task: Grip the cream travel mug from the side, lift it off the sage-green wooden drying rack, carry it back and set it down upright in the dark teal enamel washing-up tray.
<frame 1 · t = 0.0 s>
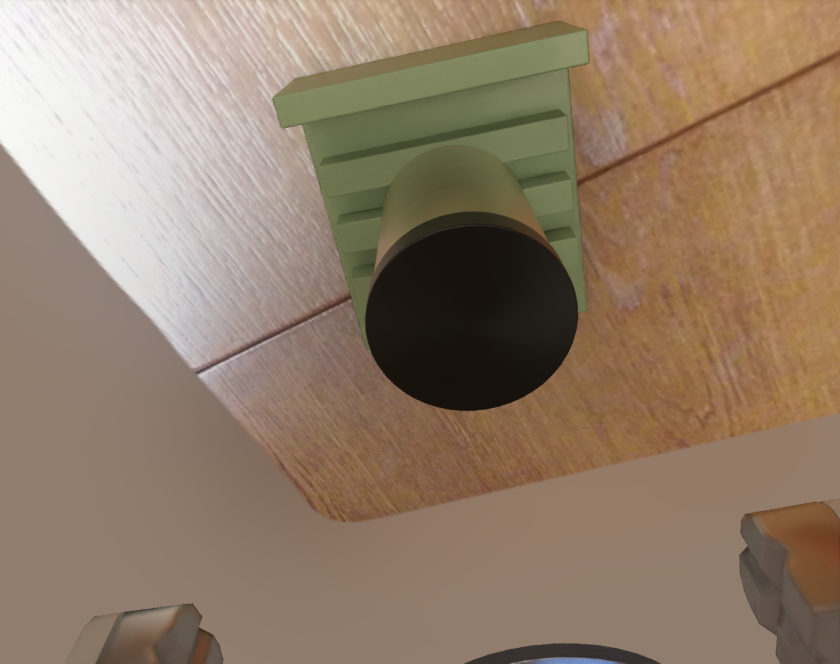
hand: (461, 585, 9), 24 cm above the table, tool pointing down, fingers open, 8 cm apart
travel mug: (454, 218, 29), point 2 cm above the table, touching drying rack
drying rack: (451, 201, 31), on the table
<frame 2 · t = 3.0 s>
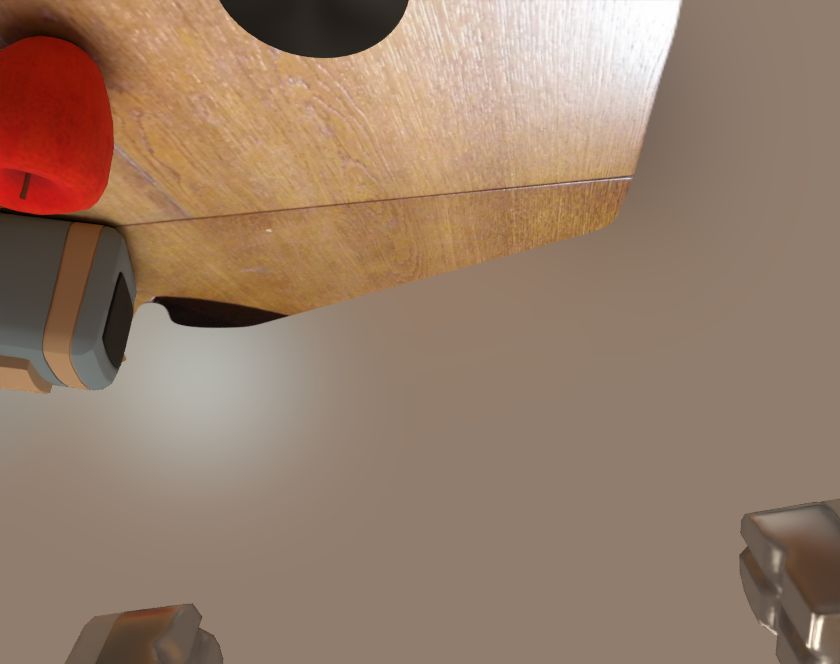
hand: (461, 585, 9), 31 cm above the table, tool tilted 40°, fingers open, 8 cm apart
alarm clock: (52, 243, 68), on the table
apple: (55, 51, 41), on the table
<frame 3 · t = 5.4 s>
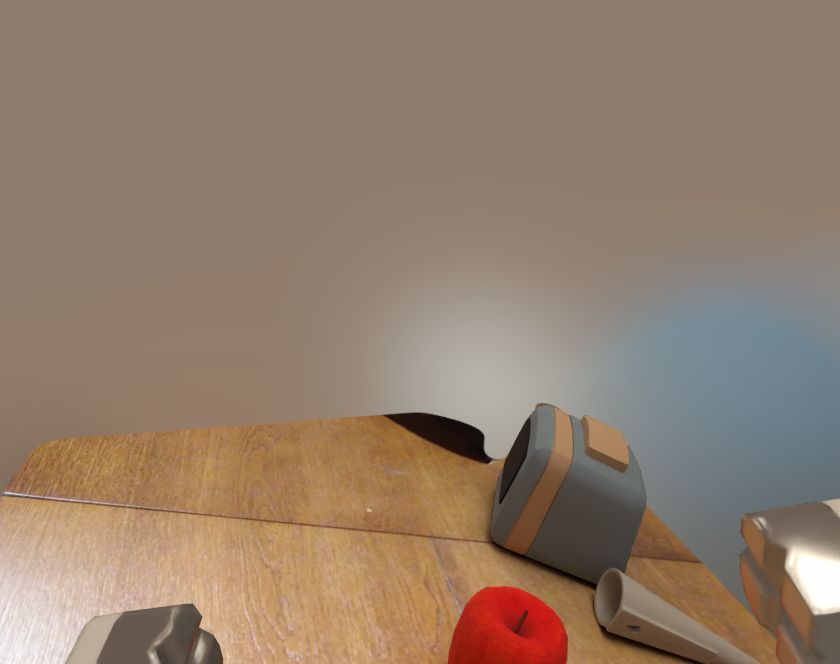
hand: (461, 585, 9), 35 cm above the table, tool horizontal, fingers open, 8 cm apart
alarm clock: (549, 536, 80), on the table
long tapered cone: (678, 643, 68), on the table
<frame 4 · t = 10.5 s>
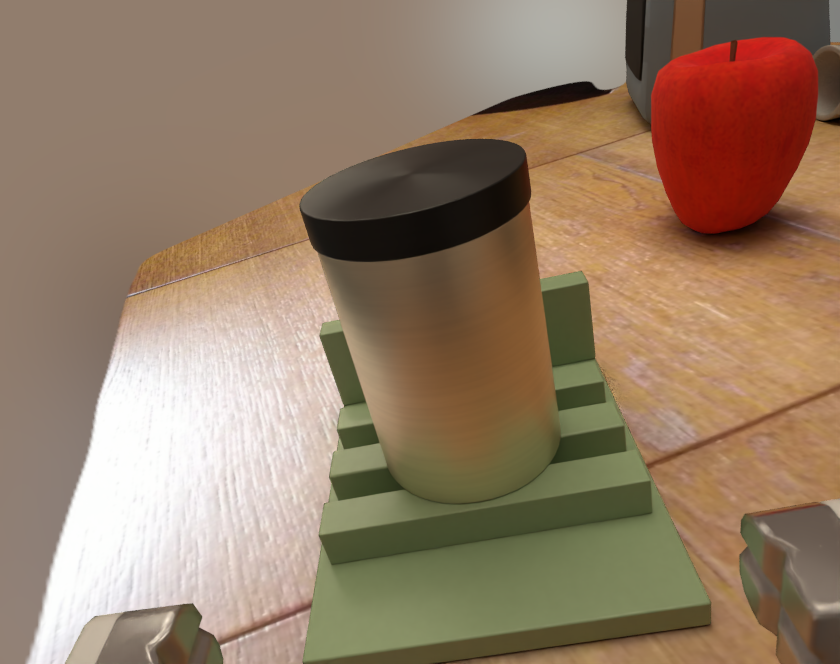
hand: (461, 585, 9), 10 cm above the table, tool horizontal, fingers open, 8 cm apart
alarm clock: (716, 102, 65), on the table
travel mug: (471, 438, 23), point 2 cm above the table, touching drying rack
drying rack: (482, 486, 25), on the table
apple: (726, 226, 40), on the table
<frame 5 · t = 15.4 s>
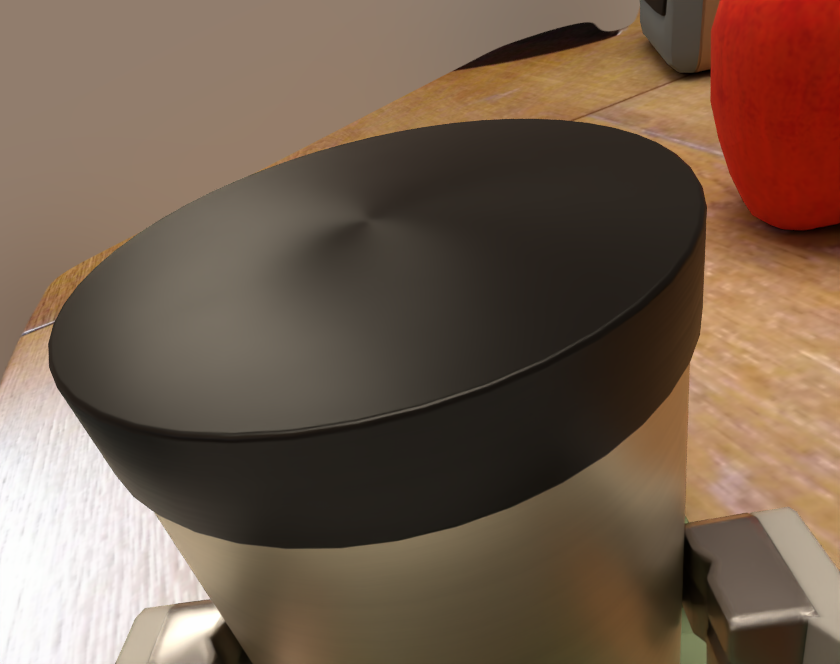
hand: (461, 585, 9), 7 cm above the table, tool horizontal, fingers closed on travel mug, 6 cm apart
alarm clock: (756, 38, 52), on the table
apple: (816, 216, 28), on the table
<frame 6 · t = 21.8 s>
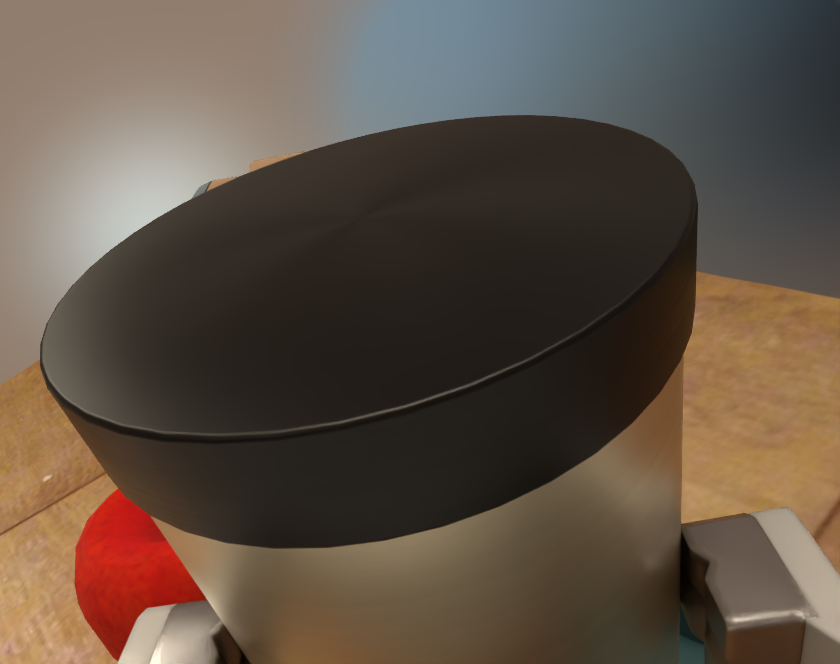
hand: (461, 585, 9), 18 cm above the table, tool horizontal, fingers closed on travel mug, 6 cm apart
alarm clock: (320, 333, 58), on the table
apple: (255, 660, 30), on the table
when the fingers open (5 cm above the table, at t = 28.4 s): travel mug stays where it is, resting on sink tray.
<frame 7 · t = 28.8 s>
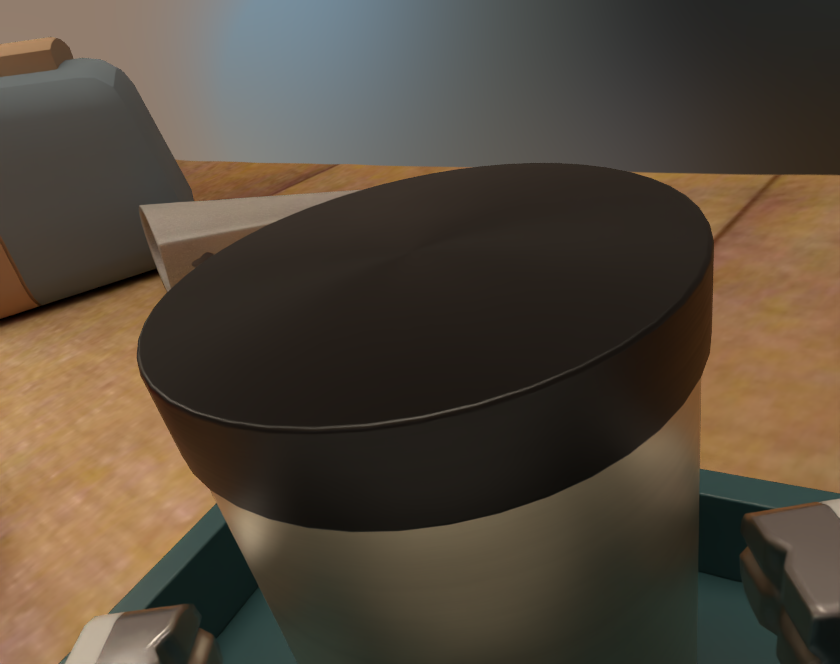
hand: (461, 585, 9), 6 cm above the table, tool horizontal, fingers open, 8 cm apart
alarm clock: (102, 264, 49), on the table
long tapered cone: (309, 244, 43), on the table
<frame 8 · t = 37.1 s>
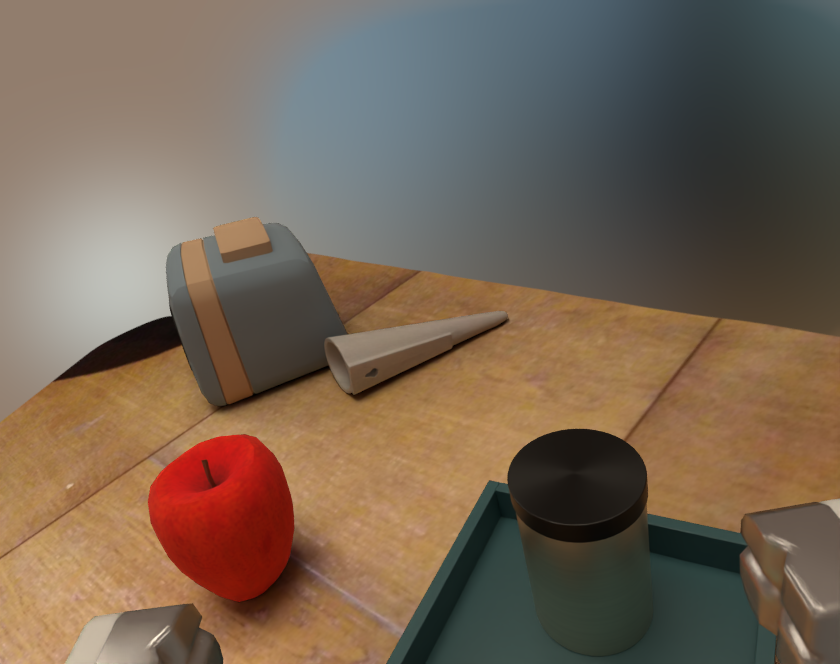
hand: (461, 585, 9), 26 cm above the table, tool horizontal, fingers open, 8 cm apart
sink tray: (591, 643, 35), on the table
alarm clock: (275, 357, 73), on the table
travel mug: (592, 602, 36), point 1 cm above the table, touching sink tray
long tapered cone: (424, 351, 66), on the table
apple: (260, 577, 45), on the table
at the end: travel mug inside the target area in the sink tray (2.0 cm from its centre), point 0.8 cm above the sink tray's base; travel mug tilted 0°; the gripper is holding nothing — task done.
